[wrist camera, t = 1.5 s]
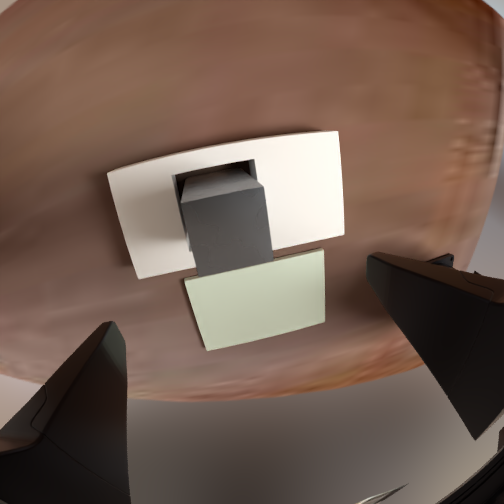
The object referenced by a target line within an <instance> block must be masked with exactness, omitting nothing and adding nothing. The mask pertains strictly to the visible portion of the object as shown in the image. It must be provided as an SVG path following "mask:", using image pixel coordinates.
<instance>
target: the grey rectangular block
mask: <svg viewBox="0 0 504 504" xmlns="http://www.w3.org/2000/svg"><path fill="white" fill-rule="evenodd" d="M181 207H182V212H183V216H184V220H185V225H186V229H187V233H188V237H189V241H190V245H191V249H192V253H193V257H194V261H195V265H196V268H197V272H198V276H199V277H203V276H208V275H213V274H217V273H222V272H226V271H231V270H235V269H240V268H245V267H249V266H254V265H258V264H263V263H267V262H272V261H274V258H273V250H272V242H271V235H270V227H269V220H268V212H267V205H266V198H265V191H264V186H263V185H261V184H260V183H259V182H258V181H256V180H255V179H254V178H253V177H251V176H250V175H249V174H247V173H246V172H245V171H243V170H242V169H241V168H240V167H238V168H233V169H227V170H222V171H217V172H212V173H207V174H202V175H197V176H193V177H188V178H186V180H185V185H184V189H183V194H182V199H181Z"/></svg>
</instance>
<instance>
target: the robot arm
mask: <svg viewBox="0 0 504 504" xmlns="http://www.w3.org/2000/svg"><path fill="white" fill-rule="evenodd" d="M453 261H454V255H452V254H449V255H446V256H443V257H440V258H437V259H435V260H432V261H429V262H421V261H417V260H413V259H408V258H404V257H399V256H394V255H390V254H385V253H381V252H375V253H372V254H369V255H368V256H367V261H366V278H367V281H368V282H369V284H370V285H371V287H372V289H373V290H374V292H375V293H376V295H377V297H378V298H379V300H380V302H381V303H382V305H383V306H384V308H385V309H386V311H387V312H388V314H389V315H390V316H391V318H392V319H393V320H394V322H395V323H396V324H397V326H398V327H399V328H400V330H401V331H402V332H403V334H404V335H405V336H406V338H407V339H408V340H409V342H410V343H411V345H412V346H413V347H414V349H415V350H416V351H417V353H418V354H419V356H420V357H421V358H422V360H423V361H424V363H425V364H426V365H427V367H428V368H429V370H430V371H431V373H432V374H433V376H434V377H435V378H436V380H437V381H438V383H439V384H440V386H441V388H442V389H443V391H444V392H445V394H446V395H447V396H448V399H449V400H450V402H451V403H452V405H453V406H454V408H455V409H456V411H457V413H458V414H459V416H460V417H461V419H462V421H463V422H464V424H465V426H466V427H467V429H468V431H469V432H470V434H471V436H472V437H473V438H474V440H477V439H478V438H479V437H480V436H481V435H482V434H484V433H485V432H486V431H487V430H488V429H489V428H490V427H491V426H492V425H493V424H494V423H495V422H496V421H497V420H498V419H499V418H500V417H501V416H502V415H503V414H504V280H503V279H497V278H492V277H487V276H482V275H481V274H479V273H477V272H476V271H474V273H468V272H464V271H459V270H456V269H454V268H453V267H452V266H453ZM129 495H130V489H129V477H128V460H127V366H126V345H125V340H124V338H123V336H122V334H121V333H120V331H119V329H118V327H117V325H116V323H115V322H113V321H109V322H104V323H102V324H101V325H100V326H99V327H98V328H97V329H96V330H95V331H94V332H93V333H92V334H91V335H90V336H89V337H88V338H87V339H86V340H85V341H84V342H83V343H82V344H81V345H80V346H79V347H78V348H77V349H76V350H75V352H74V353H73V354H72V355H71V356H70V357H69V358H68V359H67V360H66V361H65V362H64V363H63V364H62V365H61V366H60V367H59V368H58V370H57V371H56V372H55V373H54V374H53V375H52V376H51V377H50V378H49V379H48V380H47V382H46V383H45V385H43V386H42V387H41V388H40V389H39V391H38V392H37V393H36V394H35V395H34V396H33V397H32V398H31V399H30V400H29V401H28V402H27V403H26V404H25V406H23V407H22V408H21V410H20V411H18V412H17V413H16V414H15V415H14V416H13V417H12V419H10V420H9V422H7V423H6V424H5V425H4V427H3V428H2V429H1V430H0V504H131V498H130V496H129ZM436 504H504V427H503V428H502V429H501V430H500V432H499V441H498V450H497V453H496V454H495V455H494V456H493V457H492V458H491V459H490V460H489V461H488V462H487V463H486V464H485V465H484V466H482V467H481V468H480V469H479V470H478V471H477V472H476V473H474V474H473V475H472V476H471V477H470V478H469V479H467V480H466V481H465V482H464V483H462V484H461V485H460V486H459V487H458V488H456V489H455V490H454V491H452V492H451V493H450V494H448V495H447V496H445V497H444V498H443V499H441V500H440V501H438V502H437V503H436Z"/></svg>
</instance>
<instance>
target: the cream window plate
mask: <svg viewBox="0 0 504 504" xmlns="http://www.w3.org/2000/svg"><path fill="white" fill-rule="evenodd" d="M244 160H248V161H249V167H250V174H251V177H253V178H254V179H255V180H256V181H258V182H259V183H260V184H261V185H263V186H264V191H265V198H266V205H267V212H268V220H269V227H270V235H271V242H272V250H276V249H281V248H285V247H290V246H294V245H299V244H304V243H308V242H313V241H317V240H322V239H326V238H331V237H335V236H340V235H344V208H343V188H342V172H341V159H340V148H339V137H338V131H311V132H301V133H291V134H282V135H274V136H267V137H259V138H253V139H246V140H240V141H234V142H228V143H222V144H217V145H211V146H206V147H201V148H196V149H192V150H187V151H182V152H178V153H174V154H169V155H165V156H161V157H157V158H153V159H149V160H145V161H142V162H138V163H134V164H131V165H127V166H124V167H120V168H117V169H115V170H113V171H111V172H108V173H107V176H108V180H109V184H110V188H111V192H112V196H113V200H114V203H115V207H116V211H117V214H118V218H119V221H120V224H121V228H122V231H123V234H124V238H125V241H126V244H127V247H128V250H129V253H130V256H131V259H132V262H133V265H134V268H135V271H136V274H137V276H138V279H142V278H147V277H152V276H156V275H161V274H166V273H170V272H175V271H179V270H184V269H189V268H193V267H196V265H195V261H194V257H193V253H192V249H191V245H190V241H189V237H188V233H187V229H186V225H185V220H184V216H183V212H182V207H181V200H180V196H179V191H178V187H177V182H176V177H175V174H179V173H183V172H188V171H192V170H197V169H202V168H207V167H212V166H217V165H222V164H227V163H233V162H238V161H244Z"/></svg>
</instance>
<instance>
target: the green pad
mask: <svg viewBox="0 0 504 504" xmlns="http://www.w3.org/2000/svg"><path fill="white" fill-rule="evenodd" d="M184 282H185V285H186V289H187V292H188V295H189V299H190V302H191V305H192V308H193V311H194V314H195V317H196V321H197V324H198V327H199V330H200V333H201V336H202V338H203V341H204V344H205V347H206V350H207V351H210V350H215V349H220V348H224V347H229V346H234V345H238V344H242V343H247V342H251V341H255V340H259V339H264V338H268V337H272V336H276V335H279V334H283V333H287V332H291V331H295V330H298V329H302V328H305V327H309V326H312V325H316V324H319V323H323V322H325V274H324V250H323V249H322V248H319V249H315V250H310V251H306V252H301V253H297V254H293V255H288V256H284V257H279V258H275V259H274V261H272V262H267V263H263V264H258V265H254V266H249V267H245V268H240V269H235V270H231V271H226V272H222V273H217V274H213V275H208V276H203V277H199V276H198V275H197V276H193V277H188V278H184Z"/></svg>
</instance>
